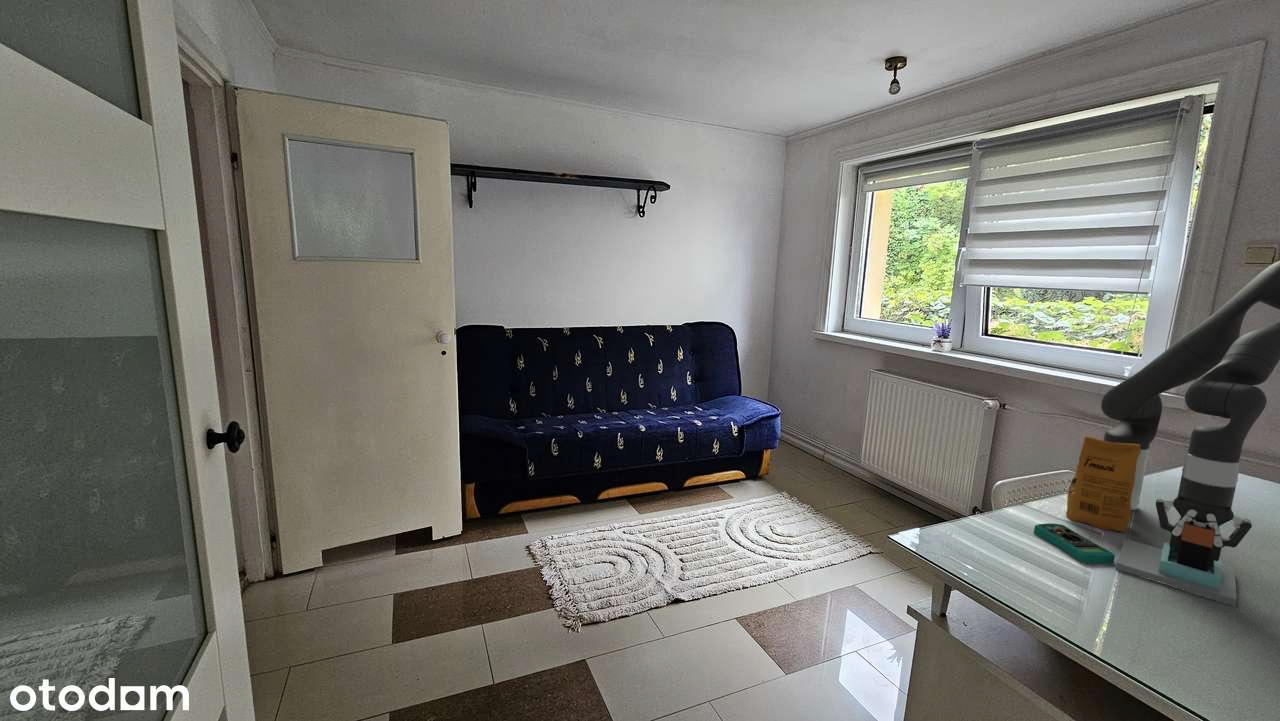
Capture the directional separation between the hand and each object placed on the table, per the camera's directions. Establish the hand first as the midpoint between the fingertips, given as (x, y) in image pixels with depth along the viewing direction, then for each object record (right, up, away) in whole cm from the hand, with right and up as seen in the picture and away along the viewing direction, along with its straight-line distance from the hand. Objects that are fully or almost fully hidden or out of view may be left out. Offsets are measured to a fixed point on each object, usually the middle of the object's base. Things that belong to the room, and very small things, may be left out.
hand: (1192, 555), depth 108 cm
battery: (0, -2, 0) cm, 2 cm away
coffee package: (+2, -1, +26) cm, 26 cm away
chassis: (-2, -4, +2) cm, 5 cm away
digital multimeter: (-15, -3, +12) cm, 20 cm away
